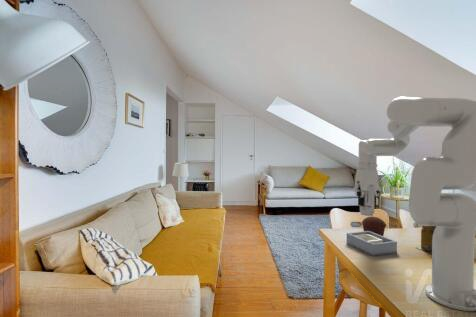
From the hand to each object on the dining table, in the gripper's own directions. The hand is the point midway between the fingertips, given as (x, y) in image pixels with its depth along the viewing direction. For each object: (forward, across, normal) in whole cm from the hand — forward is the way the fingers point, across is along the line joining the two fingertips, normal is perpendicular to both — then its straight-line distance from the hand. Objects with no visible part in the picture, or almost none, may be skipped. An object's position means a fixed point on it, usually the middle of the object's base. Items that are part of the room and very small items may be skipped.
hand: (367, 204), depth 118 cm
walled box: (+19, 0, +2) cm, 20 cm away
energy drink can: (+5, 0, 0) cm, 5 cm away
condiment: (+20, -24, +12) cm, 33 cm away
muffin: (+20, -14, -11) cm, 27 cm away
